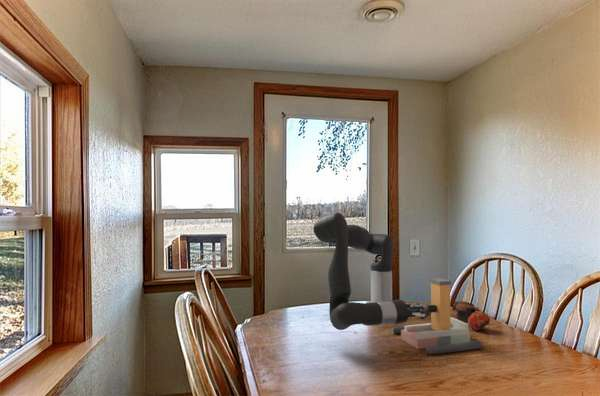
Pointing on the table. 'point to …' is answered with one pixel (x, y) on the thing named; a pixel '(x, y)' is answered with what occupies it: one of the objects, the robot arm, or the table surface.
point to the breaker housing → (435, 334)
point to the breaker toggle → (440, 303)
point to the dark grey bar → (453, 347)
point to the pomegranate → (478, 320)
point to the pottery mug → (464, 310)
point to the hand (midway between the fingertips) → (435, 308)
